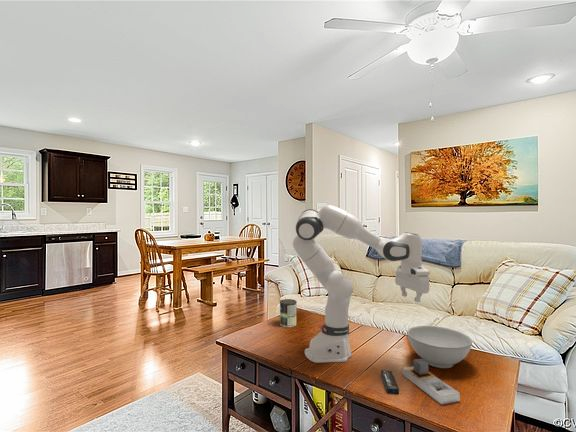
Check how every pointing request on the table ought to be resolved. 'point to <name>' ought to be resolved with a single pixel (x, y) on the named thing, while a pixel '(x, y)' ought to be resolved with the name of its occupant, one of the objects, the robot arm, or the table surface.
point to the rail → (433, 386)
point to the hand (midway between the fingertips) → (410, 298)
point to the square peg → (420, 367)
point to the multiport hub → (389, 382)
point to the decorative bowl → (439, 345)
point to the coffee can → (288, 312)
